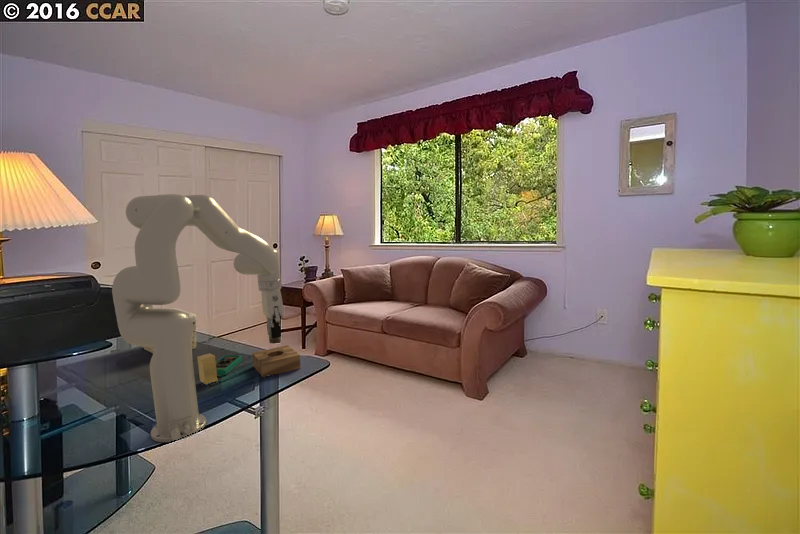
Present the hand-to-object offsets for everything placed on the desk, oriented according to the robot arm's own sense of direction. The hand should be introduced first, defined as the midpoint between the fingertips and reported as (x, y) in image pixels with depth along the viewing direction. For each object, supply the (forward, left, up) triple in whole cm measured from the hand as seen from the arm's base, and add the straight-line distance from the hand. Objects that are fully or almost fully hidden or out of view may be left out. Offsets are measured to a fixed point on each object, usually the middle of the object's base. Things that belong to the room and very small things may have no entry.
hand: (274, 335), depth 144 cm
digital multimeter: (+11, +16, -12) cm, 23 cm away
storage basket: (+50, +30, -12) cm, 60 cm away
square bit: (+1, +22, -12) cm, 25 cm away
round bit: (0, 0, -2) cm, 2 cm away
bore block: (0, 0, -12) cm, 12 cm away
